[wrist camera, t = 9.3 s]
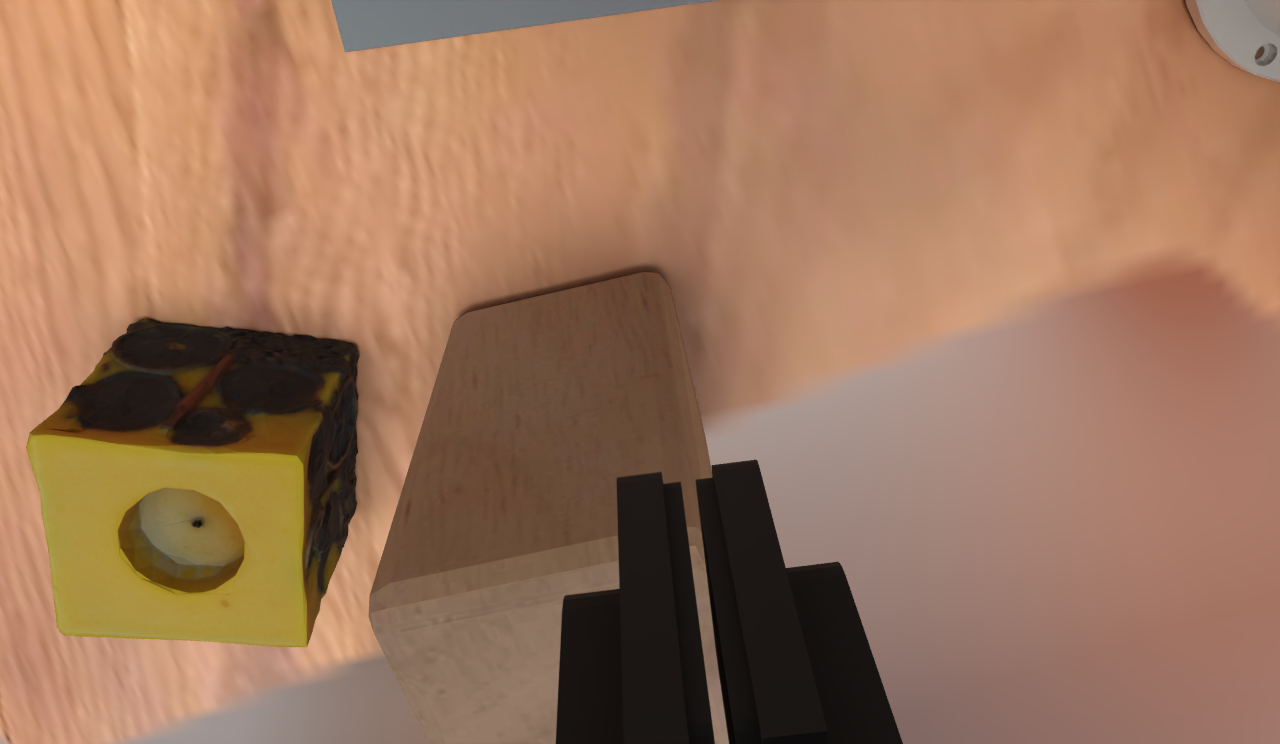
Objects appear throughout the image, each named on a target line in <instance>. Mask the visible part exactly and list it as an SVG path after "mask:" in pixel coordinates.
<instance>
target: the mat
mask: <svg viewBox="0 0 1280 744" xmlns="http://www.w3.org/2000/svg"><path fill="white" fill-rule="evenodd" d="M709 1H716V0H332V4H333V8H334V12H335V16H336V19H337V23H338V27H339V31H340V35H341V38H342V42H343V46H344V50H345V52H350V51H357V50H364V49H371V48H379V47H386V46H393V45H400V44H407V43H415V42H422V41H429V40H436V39H443V38H451V37H458V36H465V35H472V34H479V33H486V32H494V31H501V30H508V29H515V28H522V27H530V26H537V25H544V24H551V23H558V22H565V21H573V20H580V19H587V18H594V17H601V16H609V15H616V14H623V13H630V12H637V11H644V10H652V9H659V8H666V7H673V6H680V5H688V4H695V3H702V2H709Z"/></svg>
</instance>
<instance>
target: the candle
mask: <svg viewBox="0 0 1280 744" xmlns="http://www.w3.org/2000/svg"><path fill="white" fill-rule="evenodd" d="M358 358H359V353H358V350H357V348H356V347H355V346H354V345H352V344H351V343H346V342H341V341H337V340H329V339H323V340H317V339H315V338H312V337H310V336H302V335H294V336H290V337H287V336H285V335H282V334H273V333H268V332H263V333H256V332H252V331H248V330H233V329H230V328H227V327H225V328H223V329H218V328H203V327H195V326H190V325H182V324H167V323H159V322H156V321H153V320H149V319H144V320H141V321H139V322H136V323H133V324H130V325H129V327H128V328H127V333H126V334H124V335H122V336H120V337H119V338H117V339H116V340H115V341H114V342H113V344H112V347H111V348H110V349H109V350H108V351H107V352H105V353H104V354H103V358H102V359H101V360H100V362H99V363H98V364H97V366H96V367H95V370H94V371H93V372H92V374H91V375H90V376H89V377H88V378H87V379H86V380H85V381H84V382H83V383H82V384H81V385H79V386H75V387H73V388H72V390H71V391H70V393H69V395H68V397H67V398H66V400H65V401H64V403H63V404H62V405H61V407H60V408H59V409H58V410H57V411H56V412H55V413H53V414H52V415H51V416H49V417H48V418H47V419H46V420H44V421H43V422H42V423H41V424H39V425H38V426H37V427H36V428H35V429H33V430H32V431H31V432H30V434H29V439H28V443H27V447H26V448H27V451H28V455H29V458H30V462H31V465H32V468H33V471H34V475H35V478H36V481H37V484H38V488H39V491H40V494H41V510H42V518H43V523H44V527H45V532H46V539H47V545H48V552H49V558H50V567H51V578H52V588H53V596H54V604H55V612H56V622H57V627H58V629H59V631H60V632H61V633H62V634H63V635H64V636H83V637H113V638H133V639H165V640H190V641H208V642H222V643H235V644H248V645H261V646H275V647H307V646H308V643H309V640H310V637H311V634H312V631H313V627H314V623H315V619H316V617H317V615H318V613H319V610H320V603H321V599H322V598H323V596H324V595H325V594H326V591H327V588H328V584H329V581H330V578H331V576H332V574H333V572H334V570H335V567H336V565H337V562H338V560H339V558H340V555H341V552H342V548H343V547H344V544H345V541H346V539H347V536H348V524H349V522H350V520H351V518H352V517H353V515H354V513H355V510H356V506H357V502H356V501H355V486H356V476H355V472H354V469H355V462H356V460H355V456H356V454H357V453H358V450H357V435H356V417H357V399H358V394H357V391H356V387H355V383H356V377H357V367H356V364H357V361H358Z"/></svg>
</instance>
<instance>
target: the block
mask: <svg viewBox="0 0 1280 744" xmlns="http://www.w3.org/2000/svg"><path fill="white" fill-rule="evenodd" d="M655 472H662V477H663V484H665V483H673V482H681V486H682V494H683V502H684V509H685V517H686V525H687V532H688V540H689V548H690V555H691V563H692V571H693V579H694V586H695V594H696V602H697V609H698V617H699V625H700V632H701V640H702V648H703V655H704V663H705V671H706V679H707V686H708V694H709V702H710V709H711V717H712V725H713V732H714V740H715V744H729V740H728V733H727V726H726V719H725V713H724V706H723V699H722V692H721V685H720V678H719V671H718V664H717V656H716V648H715V640H714V632H713V624H712V615H711V607H710V598H709V590H708V582H707V573H706V565H705V557H704V548H703V540H702V532H701V523H700V515H699V507H698V498H697V490H696V479H704V478H712V471H711V465H710V460H709V455H708V449H707V444H706V438H705V433H704V429H703V425H702V420H701V416H700V412H699V408H698V404H697V399H696V395H695V391H694V387H693V382H692V378H691V374H690V370H689V365H688V361H687V357H686V353H685V348H684V344H683V340H682V336H681V331H680V327H679V323H678V319H677V314H676V310H675V306H674V302H673V297H672V293H671V289H670V287H669V285H668V284H667V283H666V281H665V280H664V279H663V277H662V276H661V275H660V274H659V273H653V272H641V273H637V274H632V275H628V276H624V277H619V278H615V279H611V280H606V281H602V282H598V283H593V284H589V285H585V286H580V287H576V288H571V289H567V290H563V291H558V292H554V293H550V294H545V295H541V296H537V297H532V298H528V299H524V300H519V301H515V302H511V303H506V304H502V305H497V306H493V307H489V308H484V309H480V310H476V311H471V312H467V313H466V314H464V315H463V316H461V317H460V318H459V319H457V320H456V321H454V323H453V326H452V330H451V333H450V336H449V339H448V343H447V346H446V349H445V352H444V356H443V359H442V362H441V365H440V369H439V372H438V375H437V378H436V382H435V385H434V388H433V391H432V395H431V398H430V401H429V405H428V408H427V411H426V414H425V418H424V421H423V424H422V427H421V431H420V434H419V437H418V440H417V444H416V447H415V450H414V453H413V457H412V460H411V463H410V466H409V470H408V473H407V476H406V479H405V483H404V486H403V489H402V492H401V496H400V499H399V502H398V505H397V509H396V512H395V515H394V518H393V522H392V525H391V528H390V531H389V535H388V538H387V541H386V544H385V548H384V551H383V554H382V557H381V561H380V564H379V567H378V570H377V574H376V577H375V580H374V583H373V587H372V590H371V593H370V599H369V619H370V622H371V626H372V629H373V632H374V634H375V636H376V638H377V640H378V642H379V644H380V647H381V649H382V651H383V653H384V655H385V657H386V659H387V661H388V663H389V665H390V667H391V669H392V671H393V673H394V675H395V677H396V679H397V681H398V683H399V685H400V687H401V689H402V692H403V694H404V696H405V698H406V700H407V702H408V704H409V706H410V708H411V710H412V712H413V714H414V716H415V718H416V720H417V722H418V724H419V726H420V729H421V730H422V732H423V734H424V737H425V739H426V741H427V743H428V744H556V725H557V705H558V684H559V663H560V643H561V622H562V606H563V599H564V596H565V595H572V594H580V593H589V592H597V591H605V590H613V589H619V553H618V517H617V477H623V476H631V475H639V474H647V473H655Z"/></svg>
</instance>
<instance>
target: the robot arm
mask: <svg viewBox="0 0 1280 744" xmlns="http://www.w3.org/2000/svg"><path fill="white" fill-rule="evenodd" d="M1185 1H1186V5H1187V8H1188V10H1189V12H1190V14H1191V17H1192V19H1193V21H1194V23H1195V25H1196V28H1197V30H1198V31H1199V33H1200V34H1201V35H1202V36H1203V38H1204V39H1205V40H1206V42H1207V43H1208V44H1209V45H1210V47H1211V48H1212V49H1213V50H1214V51H1215V52H1216V53H1217V54H1219V55H1220V56H1221V57H1223V58H1224V59H1225V60H1227V61H1228V62H1229V63H1230V64H1232V65H1233V66H1235V67H1237V68H1239V69H1242V70H1244V71H1246V72H1249V73H1251V74H1254V75H1256V76H1258V77H1262V78H1266V79H1269V80H1273V81H1276V82H1280V0H1185ZM1256 52H1257V53H1256ZM696 490H697V498H698V507H699V515H700V523H701V532H702V540H703V548H704V557H705V565H706V573H707V582H708V590H709V598H710V607H711V615H712V624H713V632H714V640H715V648H716V656H717V664H718V671H719V678H720V685H721V692H722V699H723V706H724V713H725V719H726V726H727V733H728V740H729V744H903V743H902V740H901V737H900V734H899V731H898V728H897V725H896V722H895V719H894V716H893V713H892V711H891V708H890V705H889V702H888V699H887V696H886V693H885V690H884V687H883V684H882V681H881V678H880V675H879V672H878V669H877V667H876V664H875V661H874V658H873V655H872V652H871V649H870V646H869V643H868V640H867V637H866V634H865V631H864V628H863V625H862V622H861V619H860V617H859V614H858V611H857V608H856V605H855V603H854V599H853V596H852V593H851V590H850V587H849V584H848V581H847V578H846V575H845V573H844V571H843V568H842V566H841V564H840V563H839V562H833V563H825V564H816V565H809V566H801V567H792V568H785V564H784V561H783V556H782V553H781V549H780V545H779V541H778V537H777V533H776V530H775V526H774V522H773V518H772V514H771V510H770V507H769V503H768V499H767V495H766V491H765V487H764V484H763V480H762V476H761V472H760V468H759V465H758V461H757V460H751V461H742V462H734V463H727V464H719V465H712V478H704V479H696ZM617 517H618V553H619V589H613V590H605V591H597V592H589V593H580V594H572V595H565V596H564V599H563V606H562V622H561V643H560V663H559V684H558V705H557V725H556V744H715V740H714V732H713V725H712V717H711V709H710V702H709V694H708V686H707V679H706V671H705V663H704V655H703V648H702V640H701V632H700V625H699V617H698V609H697V602H696V594H695V586H694V579H693V571H692V563H691V555H690V548H689V540H688V532H687V525H686V517H685V509H684V502H683V494H682V486H681V482H673V483H665V484H663V477H662V472H655V473H647V474H639V475H631V476H623V477H617Z"/></svg>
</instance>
